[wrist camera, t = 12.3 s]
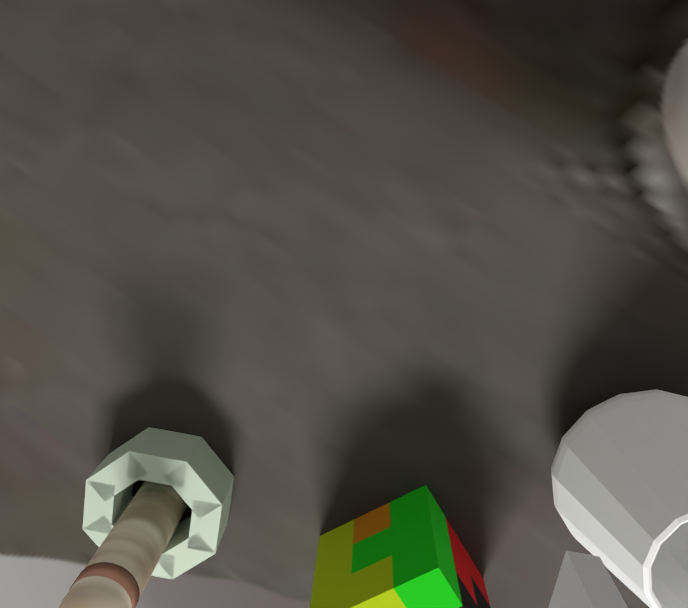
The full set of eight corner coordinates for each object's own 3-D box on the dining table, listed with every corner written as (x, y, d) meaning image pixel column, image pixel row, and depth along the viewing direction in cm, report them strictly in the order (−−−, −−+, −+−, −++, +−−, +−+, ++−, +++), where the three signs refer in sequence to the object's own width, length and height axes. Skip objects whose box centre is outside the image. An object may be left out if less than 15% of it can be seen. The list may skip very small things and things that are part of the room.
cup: (562, 545, 49) (633, 695, 36) (515, 401, 46) (573, 505, 33) (729, 499, 47) (870, 637, 34) (691, 346, 45) (829, 432, 31)
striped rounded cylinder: (146, 463, 49) (59, 583, 36) (195, 472, 49) (127, 595, 36) (141, 507, 50) (55, 639, 37) (190, 515, 50) (122, 651, 37)
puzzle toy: (378, 624, 52) (380, 732, 42) (319, 535, 50) (306, 627, 41) (482, 577, 50) (508, 679, 41) (425, 484, 49) (438, 567, 39)
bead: (111, 420, 48) (88, 443, 44) (238, 443, 48) (227, 469, 44) (102, 530, 51) (80, 562, 47) (223, 553, 51) (210, 586, 47)
